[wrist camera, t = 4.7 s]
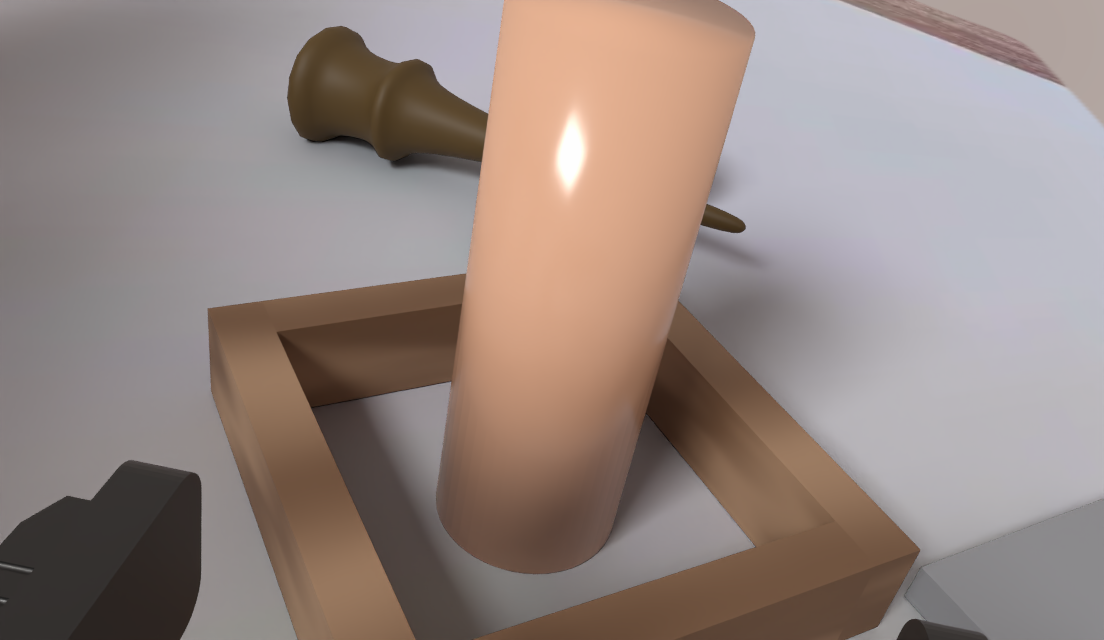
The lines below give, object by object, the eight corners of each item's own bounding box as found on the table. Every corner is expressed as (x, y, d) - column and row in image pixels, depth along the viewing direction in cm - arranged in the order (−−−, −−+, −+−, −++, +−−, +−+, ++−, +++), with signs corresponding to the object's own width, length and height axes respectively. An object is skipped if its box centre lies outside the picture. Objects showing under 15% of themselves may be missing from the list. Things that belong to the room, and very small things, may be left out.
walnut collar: (211, 391, 29) (207, 308, 27) (612, 321, 35) (630, 251, 34) (365, 833, 19) (375, 748, 18) (877, 626, 26) (920, 550, 24)
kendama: (378, 110, 48) (762, 243, 42) (244, 180, 41) (684, 354, 35) (381, -12, 45) (800, 115, 39) (235, 41, 37) (722, 208, 31)
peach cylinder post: (605, 591, 25) (761, 76, 17) (416, 550, 25) (484, 18, 17) (623, 423, 31) (747, -24, 23) (468, 389, 31) (538, -68, 23)
